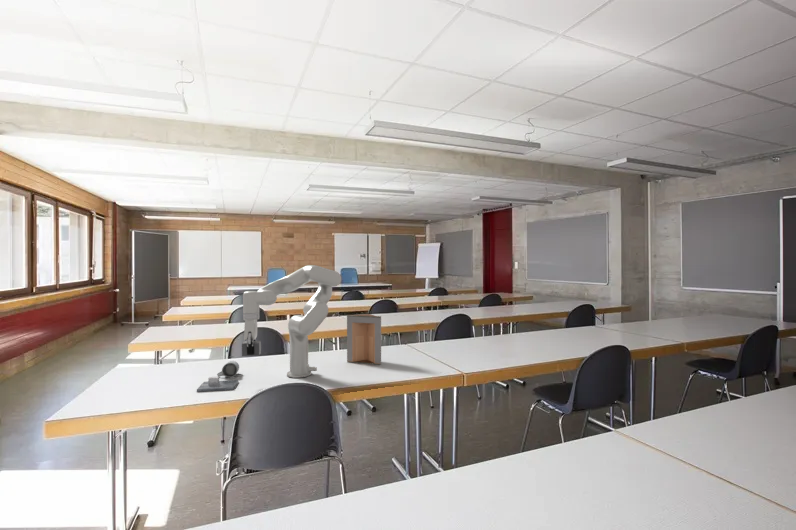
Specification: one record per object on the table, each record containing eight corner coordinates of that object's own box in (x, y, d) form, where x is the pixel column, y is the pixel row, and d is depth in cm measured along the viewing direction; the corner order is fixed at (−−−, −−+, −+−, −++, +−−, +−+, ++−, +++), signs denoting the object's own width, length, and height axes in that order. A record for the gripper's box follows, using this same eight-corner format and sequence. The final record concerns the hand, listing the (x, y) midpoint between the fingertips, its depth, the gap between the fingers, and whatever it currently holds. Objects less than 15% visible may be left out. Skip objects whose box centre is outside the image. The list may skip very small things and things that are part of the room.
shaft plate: (238, 382, 204) (238, 372, 204) (233, 389, 192) (233, 379, 192) (204, 384, 201) (204, 374, 201) (196, 391, 189) (196, 381, 189)
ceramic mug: (239, 372, 221) (239, 358, 221) (237, 377, 213) (237, 362, 213) (218, 374, 219) (218, 360, 218) (215, 379, 211) (215, 364, 210)
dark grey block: (260, 352, 205) (260, 340, 205) (259, 355, 199) (259, 342, 199) (244, 353, 203) (243, 340, 203) (241, 356, 198) (241, 343, 198)
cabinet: (347, 362, 243) (346, 315, 243) (353, 358, 252) (353, 313, 252) (380, 365, 237) (380, 316, 237) (385, 361, 246) (385, 314, 246)
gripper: (246, 314, 209) (246, 349, 209) (239, 319, 192) (240, 357, 192) (261, 313, 210) (262, 348, 210) (256, 318, 193) (257, 356, 194)
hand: (251, 352), depth 201 cm, fingers closed on dark grey block, 5 cm apart
